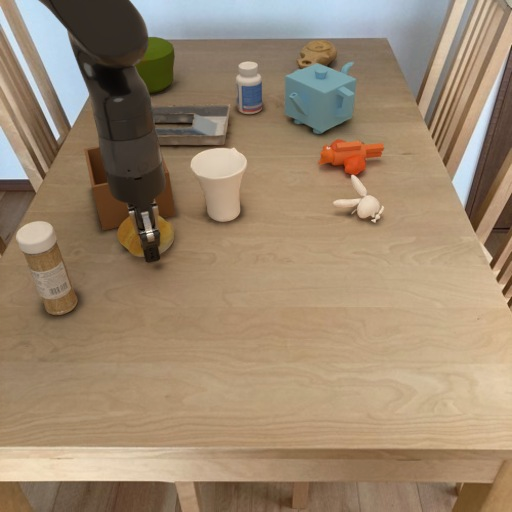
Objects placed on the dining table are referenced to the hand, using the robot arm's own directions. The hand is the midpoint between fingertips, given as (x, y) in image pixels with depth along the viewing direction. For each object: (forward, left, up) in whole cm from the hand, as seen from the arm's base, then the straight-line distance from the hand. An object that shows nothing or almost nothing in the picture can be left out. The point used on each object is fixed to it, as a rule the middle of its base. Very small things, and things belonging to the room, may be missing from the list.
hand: (152, 259), depth 83 cm
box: (+11, +13, -1) cm, 17 cm away
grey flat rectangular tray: (+34, +22, -1) cm, 41 cm away
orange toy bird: (+39, -16, -1) cm, 42 cm away
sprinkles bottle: (-13, +7, -1) cm, 14 cm away
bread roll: (+4, +4, -1) cm, 6 cm away
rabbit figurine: (+26, -22, -1) cm, 34 cm away
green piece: (+49, +38, -1) cm, 62 cm away
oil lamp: (+76, +8, -1) cm, 77 cm away
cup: (+16, -2, -1) cm, 17 cm away
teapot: (+52, -4, -1) cm, 52 cm away
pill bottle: (+50, +12, -1) cm, 52 cm away
